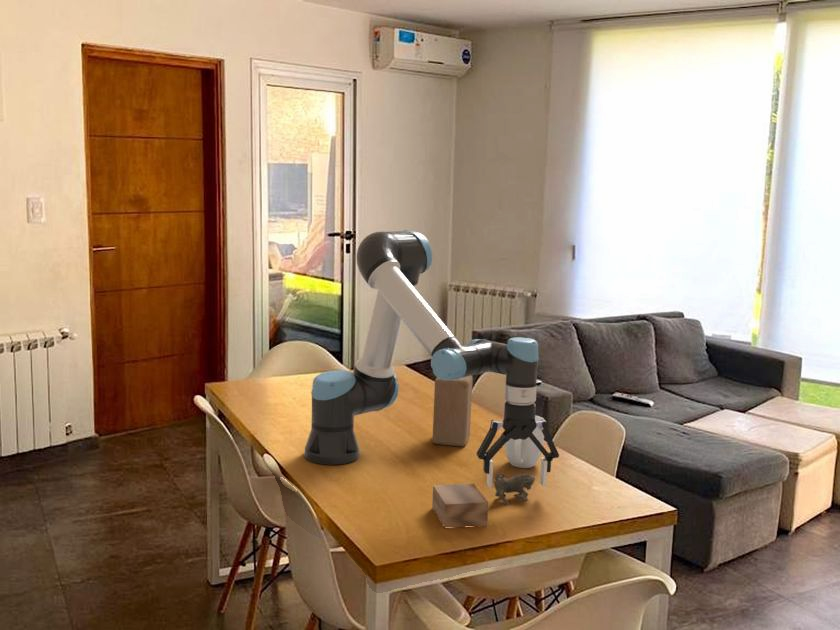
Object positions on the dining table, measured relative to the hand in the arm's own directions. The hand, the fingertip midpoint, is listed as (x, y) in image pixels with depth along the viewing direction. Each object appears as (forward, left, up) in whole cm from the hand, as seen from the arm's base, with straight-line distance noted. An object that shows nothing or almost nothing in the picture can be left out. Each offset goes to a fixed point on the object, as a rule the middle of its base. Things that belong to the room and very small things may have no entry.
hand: (516, 485), depth 212 cm
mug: (+8, +24, -4) cm, 26 cm away
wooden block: (-8, +46, -4) cm, 47 cm away
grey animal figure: (0, 0, -4) cm, 4 cm away
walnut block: (-16, -11, -4) cm, 20 cm away
